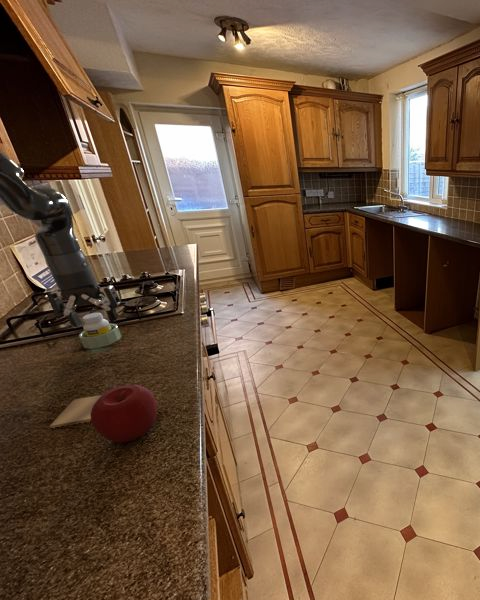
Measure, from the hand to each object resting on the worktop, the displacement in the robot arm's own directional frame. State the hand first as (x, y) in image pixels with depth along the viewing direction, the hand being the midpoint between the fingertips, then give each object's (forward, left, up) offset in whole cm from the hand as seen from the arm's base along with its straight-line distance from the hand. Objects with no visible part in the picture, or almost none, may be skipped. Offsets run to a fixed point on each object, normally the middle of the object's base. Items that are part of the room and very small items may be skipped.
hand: (96, 323), depth 90 cm
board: (+11, -30, -7) cm, 33 cm away
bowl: (0, 0, -7) cm, 7 cm away
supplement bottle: (0, 0, -8) cm, 7 cm away
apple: (+23, -40, -7) cm, 47 cm away
